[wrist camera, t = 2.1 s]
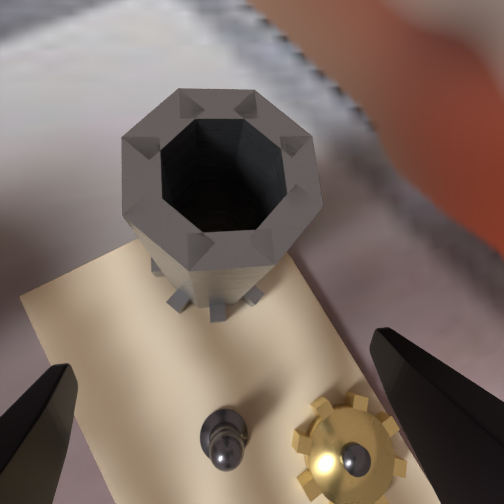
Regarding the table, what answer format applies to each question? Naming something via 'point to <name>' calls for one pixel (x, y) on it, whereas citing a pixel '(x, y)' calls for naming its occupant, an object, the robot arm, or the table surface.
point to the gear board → (199, 381)
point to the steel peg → (224, 439)
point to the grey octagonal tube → (217, 193)
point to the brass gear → (348, 452)
